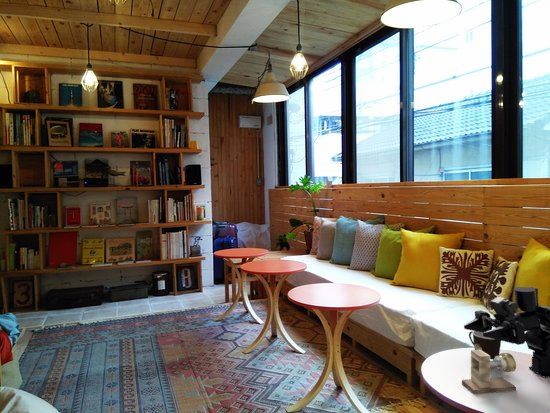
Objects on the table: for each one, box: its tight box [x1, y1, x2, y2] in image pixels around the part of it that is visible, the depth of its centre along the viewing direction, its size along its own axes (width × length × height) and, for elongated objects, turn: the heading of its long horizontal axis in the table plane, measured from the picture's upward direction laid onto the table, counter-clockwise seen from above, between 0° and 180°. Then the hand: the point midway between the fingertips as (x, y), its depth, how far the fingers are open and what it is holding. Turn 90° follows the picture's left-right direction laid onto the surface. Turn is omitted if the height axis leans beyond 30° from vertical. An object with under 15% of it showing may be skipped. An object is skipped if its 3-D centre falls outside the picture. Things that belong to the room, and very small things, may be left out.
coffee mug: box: [468, 330, 502, 369], centre depth 130 cm, size 12×9×10 cm
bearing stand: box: [461, 349, 517, 395], centre depth 113 cm, size 13×6×10 cm, turn 96°
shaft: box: [490, 352, 517, 373], centre depth 114 cm, size 9×5×5 cm, turn 96°
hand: (473, 330), depth 117 cm, fingers open, 9 cm apart
